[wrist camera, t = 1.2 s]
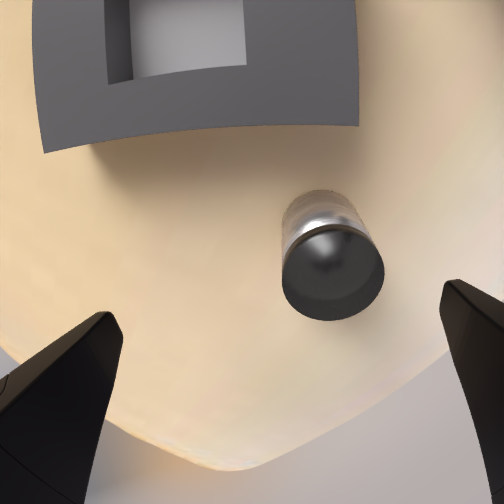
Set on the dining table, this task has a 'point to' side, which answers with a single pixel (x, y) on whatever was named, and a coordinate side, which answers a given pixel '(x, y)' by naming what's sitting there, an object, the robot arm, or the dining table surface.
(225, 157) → the dining table surface
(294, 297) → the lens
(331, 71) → the grey plate with pocket
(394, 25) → the dining table surface
